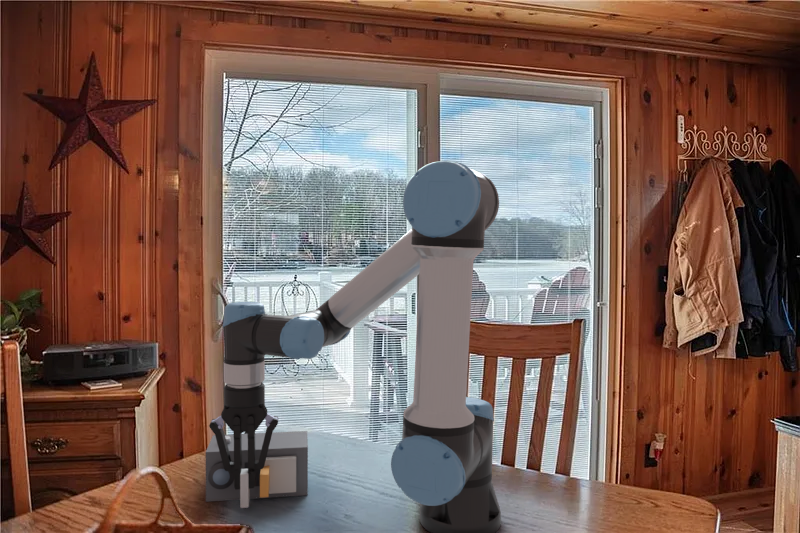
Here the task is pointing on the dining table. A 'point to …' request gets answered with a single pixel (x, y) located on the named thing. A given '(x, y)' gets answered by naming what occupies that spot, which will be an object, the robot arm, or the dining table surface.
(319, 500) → the dining table surface
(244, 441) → the housing
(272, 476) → the door
